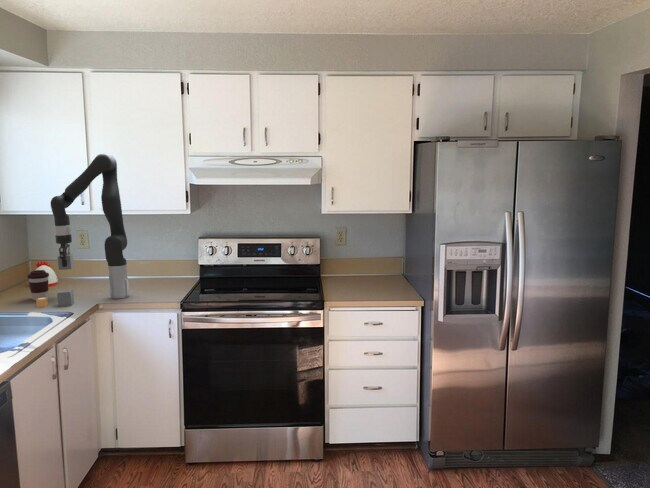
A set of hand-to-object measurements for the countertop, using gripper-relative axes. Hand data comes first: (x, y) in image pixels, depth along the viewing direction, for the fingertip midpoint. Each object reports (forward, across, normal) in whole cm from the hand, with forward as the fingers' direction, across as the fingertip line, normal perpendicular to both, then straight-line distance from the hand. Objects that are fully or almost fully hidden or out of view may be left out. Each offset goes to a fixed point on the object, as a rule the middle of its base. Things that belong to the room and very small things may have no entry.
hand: (66, 265), depth 279 cm
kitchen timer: (+17, +38, +20) cm, 46 cm away
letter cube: (+17, -15, +9) cm, 25 cm away
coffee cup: (+18, +1, +14) cm, 22 cm away
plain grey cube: (+2, 0, 0) cm, 2 cm away
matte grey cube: (+17, -16, -2) cm, 23 cm away
